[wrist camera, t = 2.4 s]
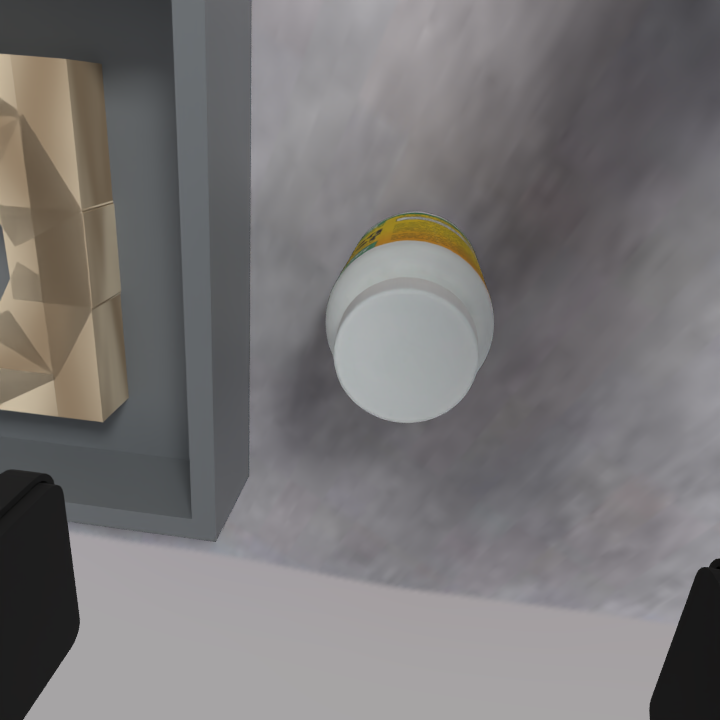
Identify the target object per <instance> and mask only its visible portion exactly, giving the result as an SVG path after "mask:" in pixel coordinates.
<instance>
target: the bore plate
mask: <svg viewBox="0 0 720 720" xmlns="http://www.w3.org/2000/svg"><path fill="white" fill-rule="evenodd" d="M0 225H1V226H2V229H3V235H4V242H5V248H6V255H7V261H8V268H9V274H10V280H9V282H8V285H7V287H6V289H5V291H4V294H3V296H2V298H1V301H0V409H1V410H9V411H17V412H25V413H33V414H41V415H49V416H57V417H65V418H73V419H81V420H89V421H97V422H104V421H105V420H106V419H107V418H108V417H109V416H110V415H111V414H112V413H113V412H114V411H115V410H116V409H117V408H118V407H120V406H121V405H122V404H123V403H124V402H125V401H126V400H127V399H128V398H129V395H128V382H127V370H126V358H125V345H124V333H123V321H122V308H121V296H120V294H121V282H120V270H119V257H118V245H117V233H116V220H115V208H114V204H113V197H112V185H111V173H110V160H109V148H108V136H107V123H106V111H105V99H104V86H103V74H102V64H99V63H92V62H85V61H77V60H70V59H60V58H48V57H35V56H23V55H10V54H0Z"/></svg>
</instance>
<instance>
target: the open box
mask: <svg viewBox="0 0 720 720" xmlns="http://www.w3.org/2000/svg"><path fill="white" fill-rule="evenodd" d="M0 54H10V55H23V56H35V57H48V58H60V59H70V60H77V61H85V62H92V63H99V64H102V74H103V86H104V99H105V111H106V123H107V136H108V148H109V160H110V173H111V185H112V197H113V204H114V208H115V220H116V233H117V245H118V257H119V270H120V282H121V294H120V296H121V308H122V321H123V333H124V345H125V358H126V370H127V382H128V395H129V398H128V399H127V400H126V401H125V402H124V403H123V404H122V405H121V406H120V407H118V408H117V409H116V410H115V411H114V412H113V413H112V414H111V415H110V416H109V417H108V418H107V419H106V420H105V421H104V422H97V421H89V420H81V419H73V418H65V417H57V416H49V415H41V414H33V413H25V412H17V411H9V410H1V409H0V474H1V473H3V472H4V471H6V470H10V469H15V470H23V471H31V472H39V473H46V474H48V475H50V476H51V477H52V478H53V480H54V484H55V485H59V486H61V488H62V489H63V493H64V500H65V508H66V515H67V521H68V522H75V523H82V524H90V525H97V526H104V527H112V528H119V529H126V530H133V531H141V532H148V533H155V534H162V535H170V536H177V537H184V538H192V539H199V540H206V541H213V542H216V540H217V538H218V536H219V534H220V532H221V530H222V528H223V526H224V524H225V522H226V521H227V519H228V517H229V515H230V513H231V511H232V509H233V507H234V505H235V503H236V501H237V499H238V497H239V495H240V493H241V491H242V489H243V487H244V485H245V483H246V481H247V479H248V477H249V365H250V176H251V0H0ZM9 280H10V274H9V268H8V261H7V255H6V248H5V242H4V235H3V229H2V226H1V225H0V301H1V298H2V296H3V294H4V291H5V289H6V287H7V285H8V282H9Z"/></svg>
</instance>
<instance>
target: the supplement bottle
mask: <svg viewBox="0 0 720 720" xmlns="http://www.w3.org/2000/svg"><path fill="white" fill-rule="evenodd" d="M325 324H326V335H327V340H328V344H329V347H330V350H331V352H332V355H333V359H334V367H335V371H336V374H337V377H338V380H339V382H340V384H341V386H342V388H343V389H344V391H345V392H346V394H347V395H348V396H349V397H350V398H351V400H352V401H353V402H354V403H356V404H357V405H358V406H359V407H361V408H362V409H363V410H365V411H367V412H368V413H370V414H372V415H374V416H376V417H378V418H381V419H384V420H387V421H391V422H398V423H415V422H423V421H427V420H430V419H433V418H436V417H438V416H440V415H442V414H444V413H446V412H448V411H449V410H451V409H452V408H453V407H454V406H455V405H457V404H458V403H459V402H460V401H461V400H462V399H463V397H464V396H465V395H466V394H467V392H468V391H469V389H470V388H471V386H472V383H473V381H474V379H475V377H476V373H477V372H478V370H479V369H480V367H481V366H482V364H483V363H484V361H485V359H486V357H487V355H488V352H489V350H490V347H491V343H492V339H493V332H494V314H493V307H492V302H491V297H490V295H489V292H488V289H487V287H486V284H485V281H484V278H483V275H482V272H481V269H480V266H479V263H478V260H477V257H476V255H475V252H474V250H473V248H472V246H471V244H470V242H469V241H468V239H467V238H466V237H465V235H464V234H463V233H462V232H461V231H460V230H459V229H458V228H457V227H456V226H455V225H454V224H452V223H451V222H449V221H448V220H446V219H444V218H442V217H439V216H437V215H434V214H430V213H426V212H406V213H401V214H397V215H394V216H391V217H389V218H387V219H385V220H383V221H381V222H379V223H378V224H376V225H375V226H373V227H372V228H371V229H370V230H369V231H368V232H367V233H366V234H365V235H364V236H363V237H362V239H361V240H360V242H359V243H358V245H357V246H356V248H355V250H354V252H353V254H352V255H351V257H350V259H349V260H348V262H347V264H346V266H345V267H344V269H343V271H342V272H341V274H340V276H339V278H338V280H337V281H336V283H335V285H334V287H333V289H332V291H331V294H330V297H329V301H328V304H327V310H326V320H325Z"/></svg>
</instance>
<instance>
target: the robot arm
mask: <svg viewBox="0 0 720 720" xmlns="http://www.w3.org/2000/svg"><path fill="white" fill-rule="evenodd" d="M79 624H80V618H79V610H78V602H77V595H76V586H75V578H74V571H73V563H72V555H71V548H70V540H69V531H68V523H67V515H66V508H65V500H64V493H63V489H62V488H61V486H59V485H55V484H54V480H53V478H52V477H51V476H50V475H48V474H46V473H39V472H31V471H23V470H15V469H10V470H6V471H4V472H3V473H1V474H0V720H23V719H24V717H25V716H26V714H27V713H28V711H29V710H30V709H31V707H32V705H33V704H34V702H35V701H36V700H37V698H38V697H39V695H40V694H41V692H42V691H43V689H44V688H45V686H46V685H47V683H48V682H49V680H50V679H51V677H52V676H53V674H54V673H55V671H56V670H57V668H58V667H59V665H60V663H61V662H62V661H63V659H64V658H65V656H66V655H67V653H68V652H69V650H70V649H71V647H72V645H73V644H74V642H75V639H76V637H77V634H78V630H79ZM649 711H650V720H720V559H715V560H714V561H713V562H712V563H711V564H710V566H709V568H708V567H703V568H701V569H699V570H698V572H697V574H696V576H695V579H694V582H693V585H692V587H691V590H690V593H689V596H688V599H687V601H686V604H685V607H684V610H683V612H682V615H681V618H680V621H679V623H678V626H677V629H676V632H675V635H674V637H673V640H672V643H671V646H670V648H669V651H668V654H667V657H666V660H665V662H664V665H663V668H662V670H661V673H660V676H659V679H658V681H657V684H656V687H655V690H654V692H653V695H652V698H651V702H650V710H649Z"/></svg>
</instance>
